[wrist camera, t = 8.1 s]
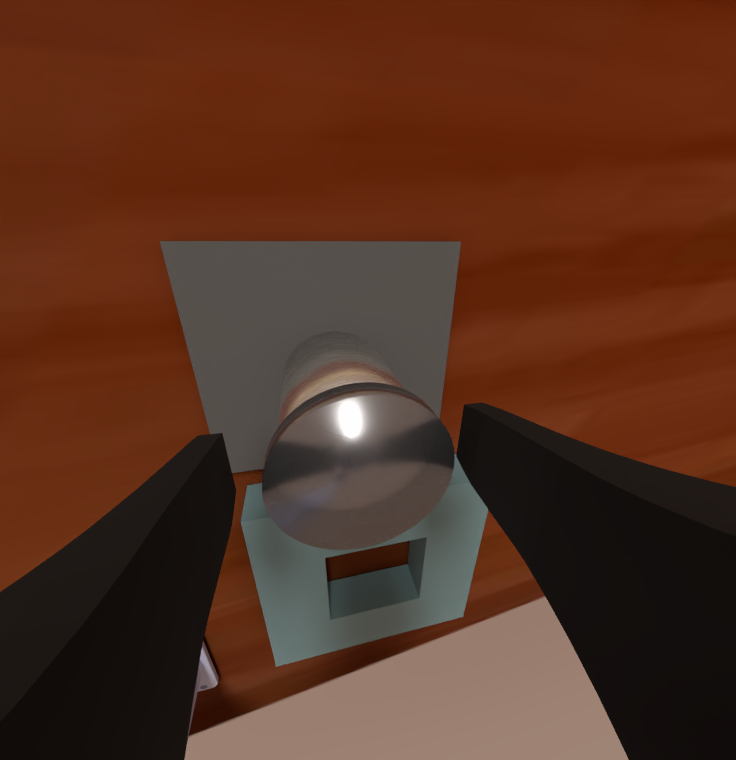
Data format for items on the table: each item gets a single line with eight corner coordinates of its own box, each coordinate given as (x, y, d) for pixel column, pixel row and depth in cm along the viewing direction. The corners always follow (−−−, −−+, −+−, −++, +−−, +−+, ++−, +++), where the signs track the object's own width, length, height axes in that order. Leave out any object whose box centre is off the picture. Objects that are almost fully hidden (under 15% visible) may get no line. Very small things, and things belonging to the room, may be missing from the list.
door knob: (284, 436, 16) (277, 566, 9) (266, 329, 13) (243, 410, 7) (388, 421, 17) (445, 529, 10) (390, 320, 14) (464, 384, 8)
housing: (277, 625, 23) (276, 666, 21) (247, 485, 17) (240, 521, 15) (448, 584, 26) (462, 616, 24) (472, 451, 20) (495, 478, 18)
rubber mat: (223, 467, 16) (220, 474, 16) (165, 241, 12) (159, 241, 11) (432, 438, 19) (436, 444, 18) (454, 241, 14) (460, 241, 13)
